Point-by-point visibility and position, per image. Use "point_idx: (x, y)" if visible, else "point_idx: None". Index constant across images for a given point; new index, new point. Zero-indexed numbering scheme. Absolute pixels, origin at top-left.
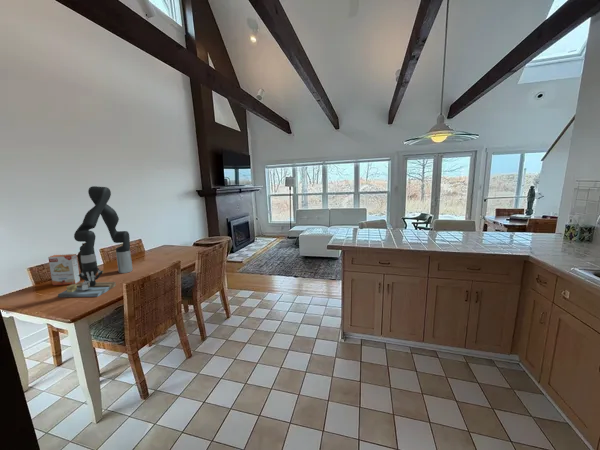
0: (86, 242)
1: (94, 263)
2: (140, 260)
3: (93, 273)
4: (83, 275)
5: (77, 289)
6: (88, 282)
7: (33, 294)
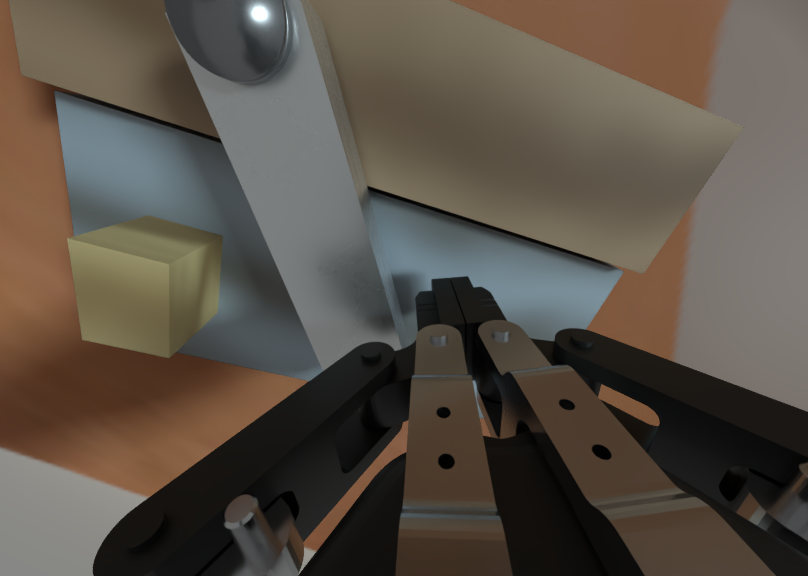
0: None
1: None
2: None
3: None
4: (297, 542)
5: (227, 235)
6: (378, 297)
7: None
